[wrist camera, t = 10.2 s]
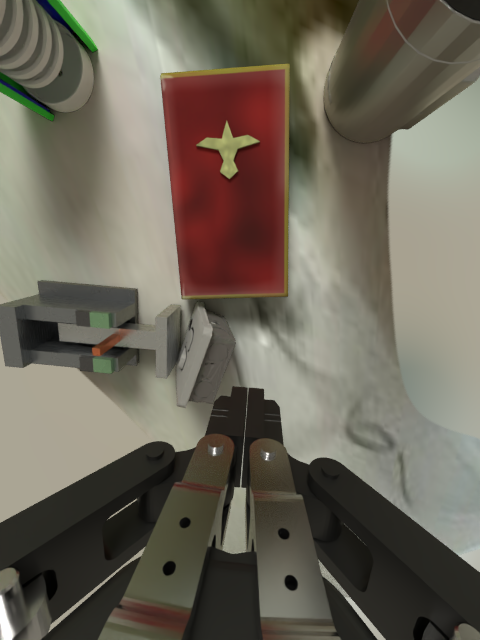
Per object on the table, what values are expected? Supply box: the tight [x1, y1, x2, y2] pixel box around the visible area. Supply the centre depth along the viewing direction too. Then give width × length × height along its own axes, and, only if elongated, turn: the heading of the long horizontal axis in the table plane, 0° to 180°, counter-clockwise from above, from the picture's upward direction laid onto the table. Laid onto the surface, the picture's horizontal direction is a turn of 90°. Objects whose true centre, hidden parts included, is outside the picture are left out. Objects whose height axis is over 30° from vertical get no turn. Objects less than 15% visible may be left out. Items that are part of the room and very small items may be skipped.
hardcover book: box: [160, 64, 290, 299], centre depth 30 cm, size 12×21×4 cm, turn 2°
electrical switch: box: [176, 302, 236, 408], centre depth 33 cm, size 9×5×9 cm, turn 160°
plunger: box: [58, 305, 181, 378], centre depth 32 cm, size 13×7×8 cm, turn 85°
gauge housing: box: [0, 280, 139, 374], centre depth 34 cm, size 12×10×7 cm
